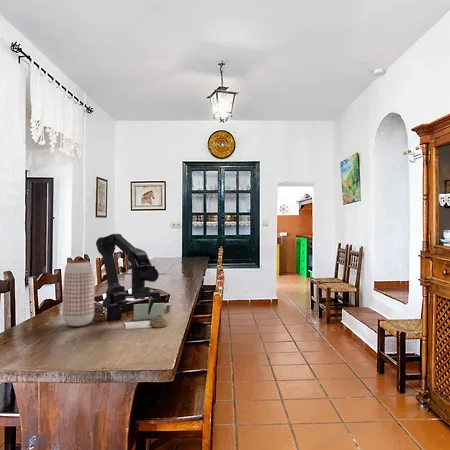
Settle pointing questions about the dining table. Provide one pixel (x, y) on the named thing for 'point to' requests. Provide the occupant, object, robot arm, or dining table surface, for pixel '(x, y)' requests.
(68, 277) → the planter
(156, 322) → the seashell
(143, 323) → the tile
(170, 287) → the dining table surface
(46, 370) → the dining table surface
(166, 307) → the small beige block
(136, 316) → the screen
